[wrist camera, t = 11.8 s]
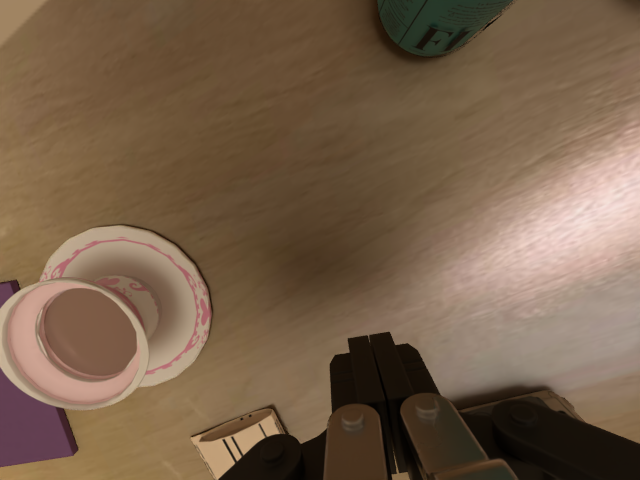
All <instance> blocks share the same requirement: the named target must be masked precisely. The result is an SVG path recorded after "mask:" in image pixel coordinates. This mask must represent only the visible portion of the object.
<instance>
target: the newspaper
mask: <svg viewBox="0 0 640 480" xmlns="http://www.w3.org/2000/svg"><path fill="white" fill-rule="evenodd" d="M275 434H285V432H284V430H283V428H282V426H281V424H280V422H279V420H278V418H277V416H276V414H275V413H274V411H273V409H268V408H267V409H263V410H259V411H255V412H252V413H250V414H247V415H244V416H242V417H239V418H237V419H234V420H232V421H229V422H227V423H224V424H222V425H220V426H218V427H216V428H213V429H211V430H209V431H207V432H205V433H203V434H200V435H197V436H195V437H190V439H191V440H192V442H193V444H194V446H195V447H196V449H197V451H198V452H199V454H200V456H201V458H202V459H203V461H204V463H205V465H206V466H207V468H208V470H209V471H210V473H211V475H212V477H213V478H214V480H218V479H219V478H220V477H221V476H222V475H223V474H224V473H225V472H226V471H227V470H229V469H230V468H231V467H232V466H233V465H234V464H235V463H236V462H237V461H238V460H239V459H240V458H241V457H242V456H243V455H244V454H245V453H247V452H248V451H249V450H250V449H251V448H252V447H253V446H254V445H255V444H256V443H257V442H259V441H260V440H262V439H264V438H266V437H268V436H271V435H275Z"/></svg>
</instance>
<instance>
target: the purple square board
mask: <svg viewBox="0 0 640 480" xmlns="http://www.w3.org/2000/svg"><path fill="white" fill-rule="evenodd" d="M18 291H20V289H19V286H18V283H17V281H16V280H14V281H9V282H3V283H0V308H1V307H2V306H3V305H4V303H5V302H6V301H7V300H8V299H9V298H10V297H11V296H12V295H14V294H15V293H17V292H18ZM77 451H78V448H77V445H76V443H75V440H74V437H73V434H72V432H71V429H70V426H69V423H68V421H67V418H66V415H65V412H64V410H63V408H60V407H56V406H52V405H49V404H46V403H44V402H41V401H39V400H37V399H35V398H33V397H31V396H29V395H28V394H26V393H25V392H23V391H22V390H20V389H19V388H18V387H17V386H16V385H15V384H13V383H12V382H11V381H10V380H9V378H8V377H7V376H6V375H5V374H4V372H3V371H2V369H1V368H0V467H4V466H11V465H17V464H24V463H30V462H36V461H43V460H49V459H55V458H62V457H68V456H73V455H74V454H75V453H76V452H77Z"/></svg>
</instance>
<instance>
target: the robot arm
mask: <svg viewBox="0 0 640 480" xmlns="http://www.w3.org/2000/svg"><path fill="white" fill-rule="evenodd" d="M369 338H370V342H369ZM369 338H368V335H366V336H360V337H354V338H348V344H349V350H350V353H345V354H338V355H335V356H334V358H333V359H332V361H331V363H330V382H331V402H332V414H331V416H330V417H329V419H328V423H327V429H326V430H325V431H324V432H323V433H321V434H320V435H319V436H317V437H316V438H314V439H312V440H309V441H307V442H305V443H302V444H300V443H299V441H298V440H297V439H296V438H295V437H293V436H291V435H288V434H275V435H271V436H268V437H266V438H264V439H262V440H260V441H259V442H257V443H256V444H255V445H254V446H253V447H252V448H251V449H250V450H249V451H248V452H247V453H245V454H244V455H243V456H242V457H241V458H240V459H239V460H238V461H237V462H236V463H235V464H234V465H233V466H232V467H231V468H230V469H229V470H227V471H226V472H225V473H224V474H223V475H222V476H221V477H220V478H219V479H218V480H392V475H391V474H397V472H396V465H395V459H396V463H397V467H398V470H399V473H403V472H408V474H409V478H410V480H640V444H639V443H636V442H634V441H631V440H629V439H626V438H624V437H621V436H618V435H616V434H613V433H611V432H608V431H606V430H603V429H601V428H598V427H596V426H593V425H590V424H588V423H585V422H583V421H580V420H578V419H575V418H573V417H570V416H568V415H565V414H562V413H560V412H557V411H555V410H552V409H550V408H547V407H545V406H542V405H540V404H537V403H534V402H531V401H527V400H521V399H509V400H505V401H502V402H499V403H498V404H496V405H495V406H494V408H493V409H492V412H491V416H484V415H473V414H467V413H463V412H461V411H458V410H456V408H455V407H454V405H453V404H452V403H451V402H450V401H449V400H448V399H446V398H445V397H443V396H441V395H440V393H439V391H438V389H437V387H436V385H435V383H434V381H433V379H432V377H431V375H430V373H429V371H428V369H427V368H426V366H425V364H424V362H423V360H422V358H421V356H420V354H419V352H418V350H417V349H415V348H414V347H412V346H411V345H409V344H408V343H407V344H400V345H395V344H394V341H393V339H392V336H391V334H390V332H384V333H378V334H372V335H369ZM370 345H371V346H370ZM393 451H394V453H393ZM394 455H395V459H394Z"/></svg>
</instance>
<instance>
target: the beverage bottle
mask: <svg viewBox="0 0 640 480" xmlns="http://www.w3.org/2000/svg"><path fill="white" fill-rule="evenodd" d="M377 1H378V9H379V14H380V17H381V20H382V23H383V25H384V27H385V29H384V30H385V31H387V32H386V33H388V34H389V35H388V36H389V37H390V38H391V39H392V40H393V41H394V42H395V43H396V44H397V45H398V46H399V47H401V48H402V49H404V50H405V51H407V52H409V53H411V54H414V55H415V54H416V55H417V56H418V55H421V57H423V56H435V55H441V54H446V53H448V52H450V51H451V52H452V50H454V49H456V48H459V46H460V47H461V45H462V44H463V45H464V46H466V45H465V44H464V43H465V42H466V41H467V40H468V39H469V38H471V37H472V36H473V35H474V34H475V33H476V32H477V31H479V30H480V29H481V28H483V26H484V25H485V24H487V23H488V22H489V21H491V19H493V17H495V16H496V15H498V13H499V12H501V10H502V9H504V8H505V7H507V5H508V6H509V3H510V2H511V3H512V1H513V0H377ZM514 3H515V2H514ZM514 3H512V4H514ZM512 4H510V5H511V6H512ZM508 8H509V7H508ZM504 10H505V9H504ZM506 10H508V9H506ZM503 12H504V11H503ZM501 14H502V13H501ZM499 15H500V13H499ZM500 16H501V15H500ZM500 16H499V17H500ZM499 17H498V18H499ZM498 18H496V19H498ZM379 19H380V18H379ZM496 19H495V20H496ZM495 20H494V21H495ZM494 21H492V22H491V23H488V25H487V26H486V25H485V26H486V27H485V28H484V29H482V30H485V29H486V28H487V27H488V26H489V25H490V24H492V23H493V22H494ZM380 22H381V21H380ZM382 23H381V24H382ZM383 25H382V26H383ZM384 27H383V28H384ZM482 30H481V31H482ZM480 33H481V32H480ZM480 33H479V34H480ZM475 37H476V36H475ZM475 37H474V38H475ZM472 40H473V39H472ZM467 42H468V41H467ZM467 42H466V44H468V43H467ZM469 42H471V41H469ZM463 45H462V46H463ZM461 48H462V47H461ZM459 50H460V48H459ZM454 51H456V50H454ZM457 51H458V50H457ZM453 53H454V52H453ZM448 55H449V54H448ZM444 56H446V55H444ZM440 57H441V56H440ZM431 58H433V57H431Z"/></svg>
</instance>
